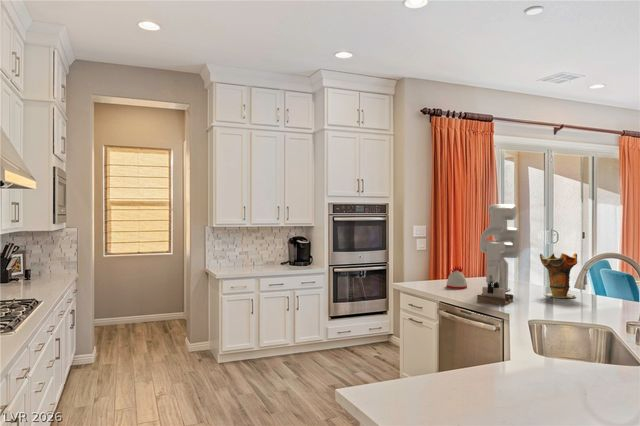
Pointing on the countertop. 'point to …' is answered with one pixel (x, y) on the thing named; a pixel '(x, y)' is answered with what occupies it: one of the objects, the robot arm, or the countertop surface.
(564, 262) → the decorative vase
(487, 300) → the walnut rack
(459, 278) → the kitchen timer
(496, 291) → the beige rectangular block
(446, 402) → the countertop surface
